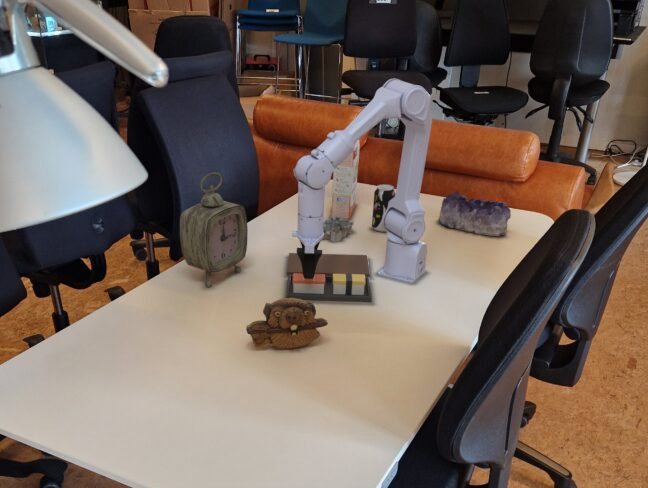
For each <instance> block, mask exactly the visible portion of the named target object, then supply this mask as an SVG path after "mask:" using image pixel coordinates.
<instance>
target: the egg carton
mask: <svg viewBox="0 0 648 488" xmlns="http://www.w3.org/2000/svg"><path fill="white" fill-rule="evenodd" d="M354 224H355V221H354V220H352V221H350V219H345V218H341V217H337V216H335V215H332V216H331V215H330V217H329V218H326V219H325V218H324V224H323V232H324V237H323V238H322V239H321V240H325V239H326V240H330V241H331V242H333V243H334V242H340V241H342V238H346V237H347V235H348V234H352V233H353V226H355V225H354Z"/></svg>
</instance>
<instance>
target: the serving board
mask: <svg viewBox="0 0 648 488" xmlns="http://www.w3.org/2000/svg"><path fill="white" fill-rule="evenodd" d="M287 262H288V263H287V268H286V270H287V271H286V276H288V275H293V273H300V274H303V271H302V265H301V261H300V259H299V257H298V255H297V252H289V253H288V260H287ZM346 273H351V274H364V275H365V277H369V279H370V278H371V271H370V263H369V255H368V254H342V253H341V254H340V253H322V255H321V257H320V258H319V260H318V263H317V266H316V271H315V274H325V276H333V274H346Z"/></svg>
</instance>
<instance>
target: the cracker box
mask: <svg viewBox="0 0 648 488" xmlns="http://www.w3.org/2000/svg"><path fill="white" fill-rule="evenodd" d="M360 145H361V138H360V139H358V140H357V141H356V142H355V143H354V151H353V152H352V153H351V154H350V155H349V156H348V157H347V158H346V159H345V160H344V161H343V162H342V163H341V164H340V165H339V166H338V167H336V168H335V169H334V172H333V173H332V175H333V176H332V192H331V193H332V194H331V207H330V208H331V210H330V217H331V216H332V215H335V216H337V217H341V218H345V219H349V220H350V218H351V216H352V213H353V211H354V208H355V206H356V197H357V186H358V175H359V174H358V173H359V159H360V149H361V146H360Z"/></svg>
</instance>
